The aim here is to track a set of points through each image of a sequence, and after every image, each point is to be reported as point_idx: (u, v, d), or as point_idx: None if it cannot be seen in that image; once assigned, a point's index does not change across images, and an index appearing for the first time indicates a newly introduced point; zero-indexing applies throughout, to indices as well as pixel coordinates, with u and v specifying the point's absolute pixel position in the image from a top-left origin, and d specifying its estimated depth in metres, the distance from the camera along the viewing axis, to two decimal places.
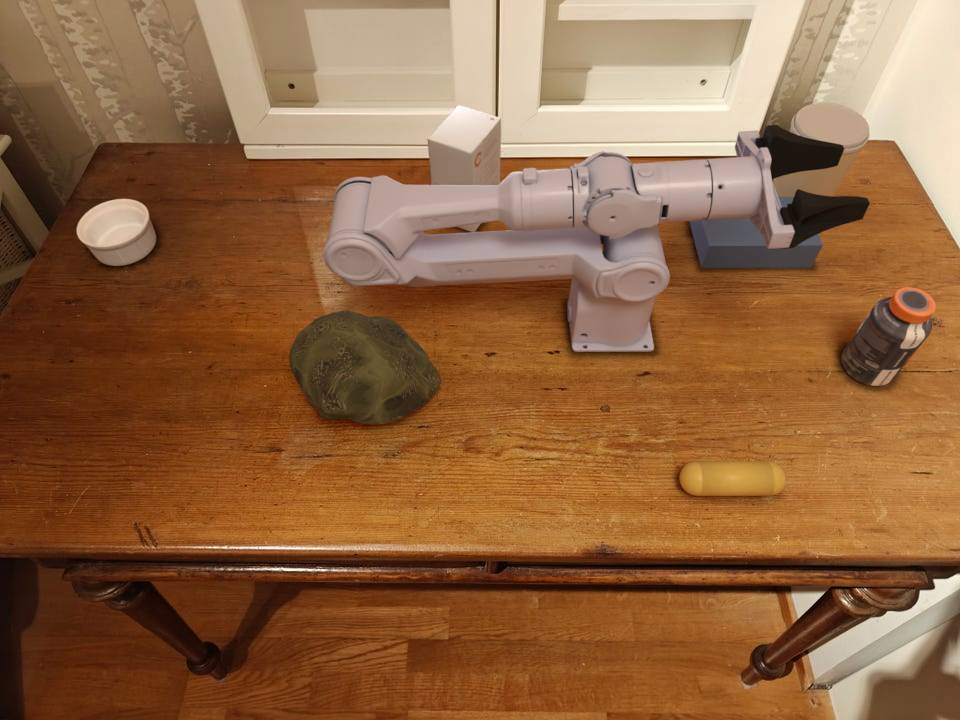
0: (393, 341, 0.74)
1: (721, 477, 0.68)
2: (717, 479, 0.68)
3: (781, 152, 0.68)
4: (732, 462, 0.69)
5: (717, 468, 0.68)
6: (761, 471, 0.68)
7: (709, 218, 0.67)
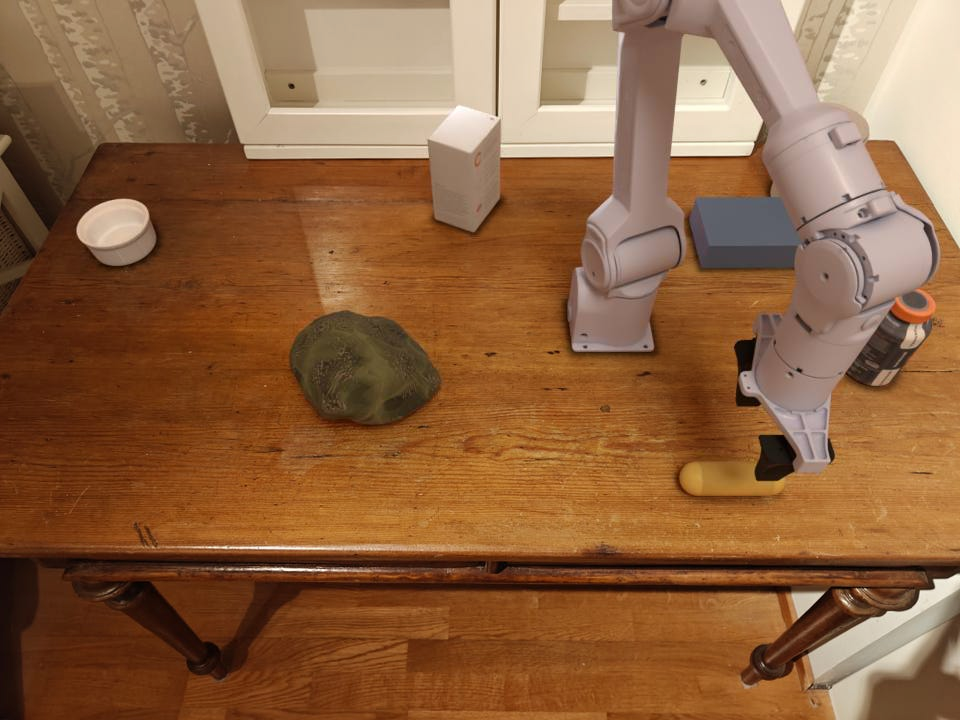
0: (393, 341, 0.74)
1: (721, 477, 0.68)
2: (717, 479, 0.68)
3: None
4: (732, 462, 0.69)
5: (717, 468, 0.68)
6: None
7: None
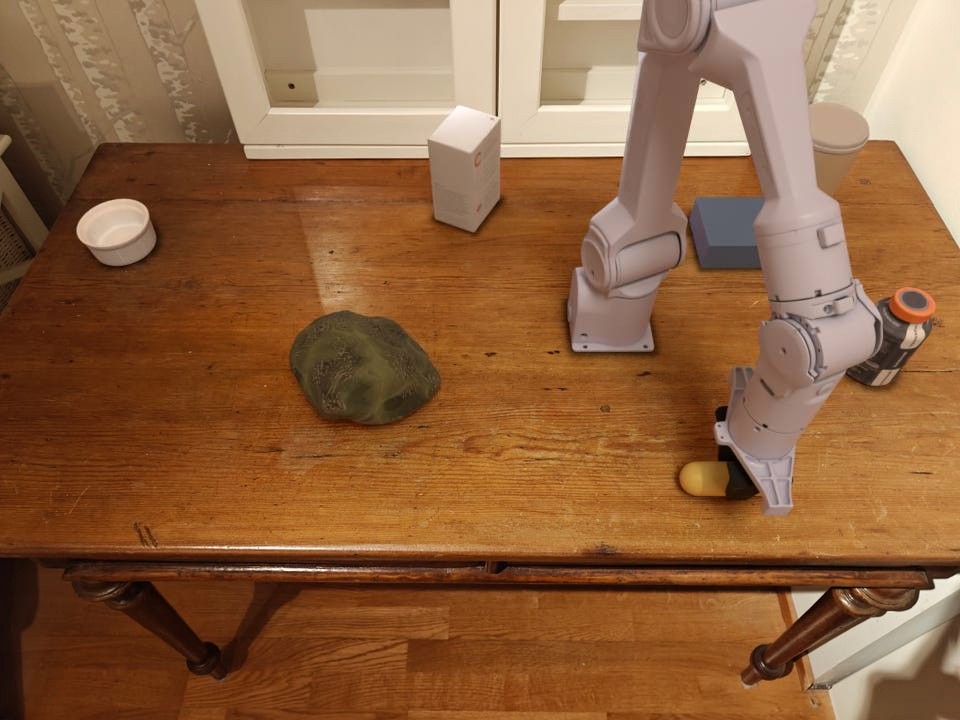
0: (393, 341, 0.74)
1: (721, 477, 0.68)
2: (717, 479, 0.68)
3: None
4: None
5: (717, 468, 0.68)
6: None
7: None
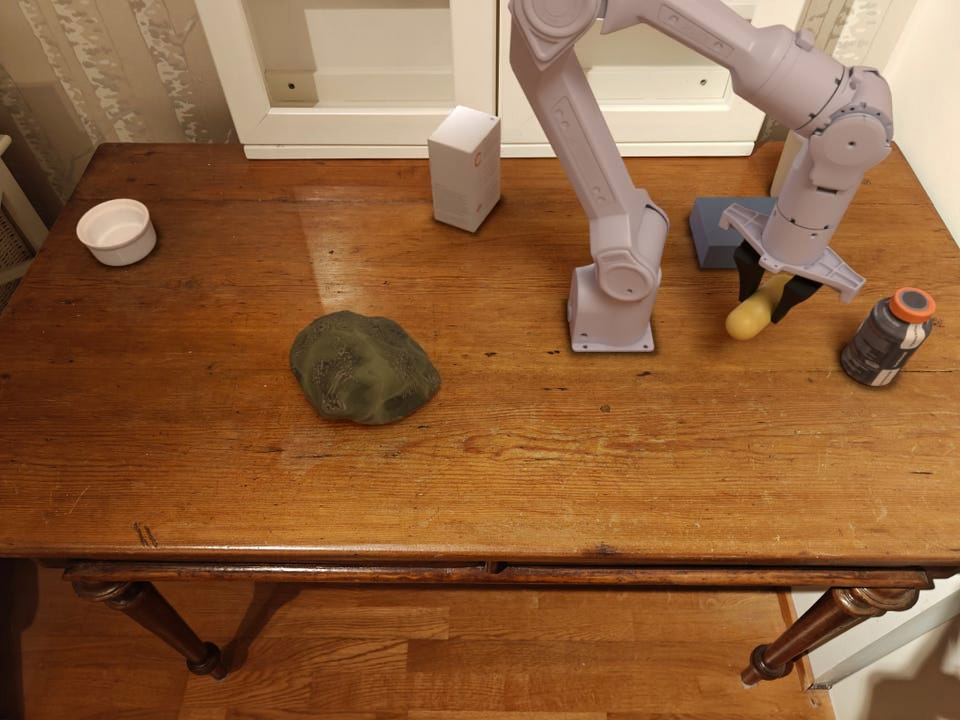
0: (393, 341, 0.74)
1: (763, 308, 0.72)
2: (762, 312, 0.72)
3: None
4: (756, 293, 0.74)
5: (755, 303, 0.72)
6: (781, 285, 0.74)
7: None
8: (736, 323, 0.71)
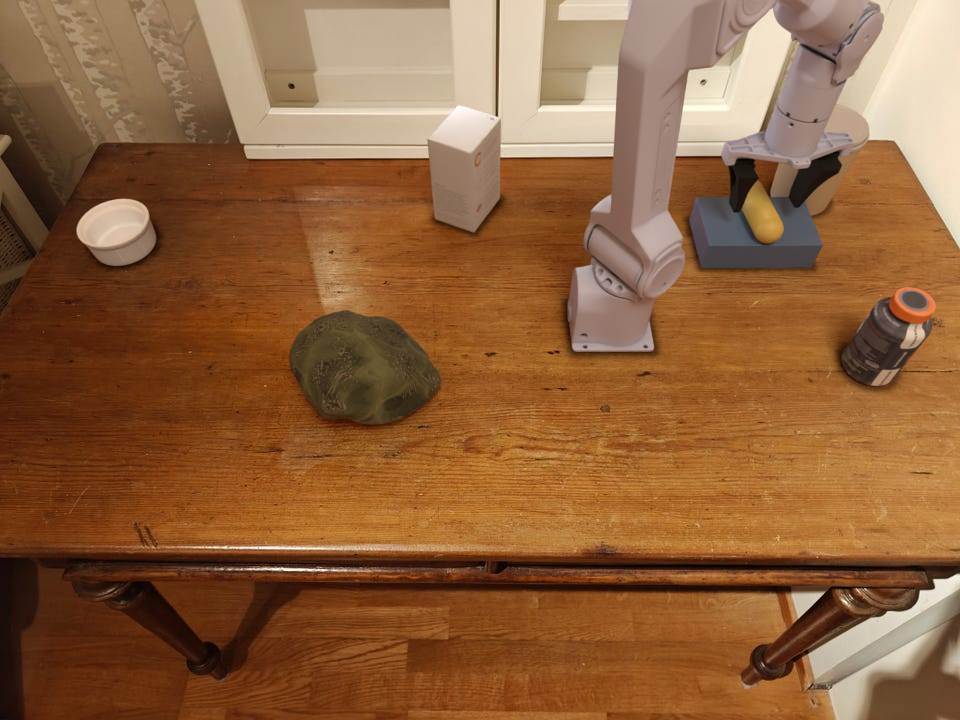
0: (393, 341, 0.74)
1: (769, 208, 0.85)
2: (772, 210, 0.85)
3: (813, 168, 0.81)
4: (750, 205, 0.86)
5: (762, 211, 0.85)
6: (753, 187, 0.87)
7: None
8: (771, 231, 0.84)
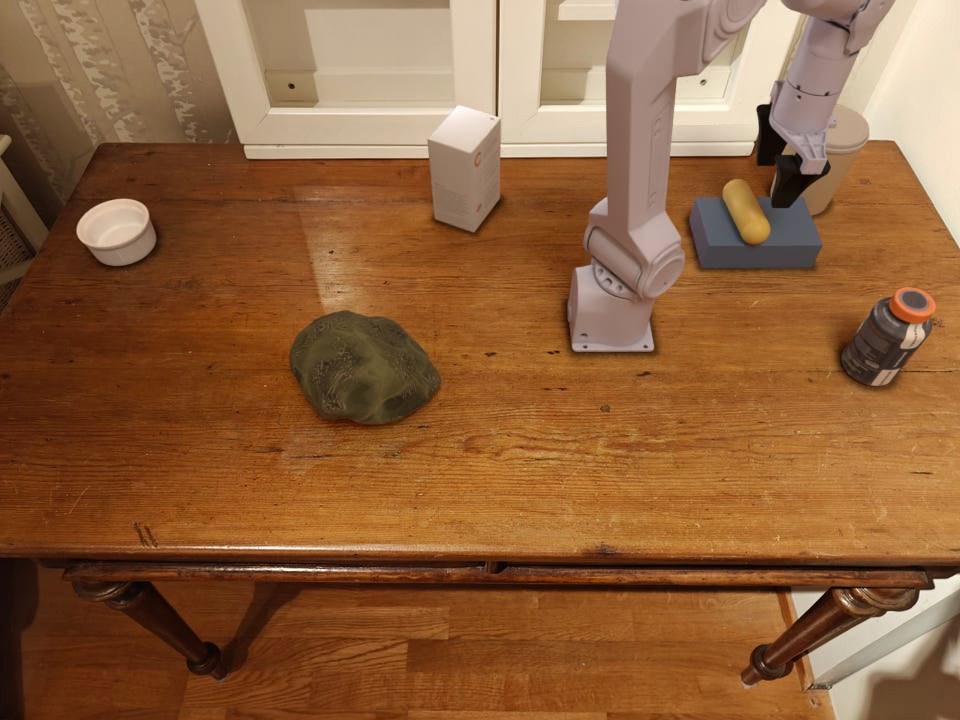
0: (393, 341, 0.74)
1: (743, 213, 0.85)
2: (745, 215, 0.85)
3: None
4: (732, 216, 0.87)
5: (738, 220, 0.86)
6: (729, 195, 0.88)
7: (807, 96, 0.72)
8: (751, 237, 0.84)
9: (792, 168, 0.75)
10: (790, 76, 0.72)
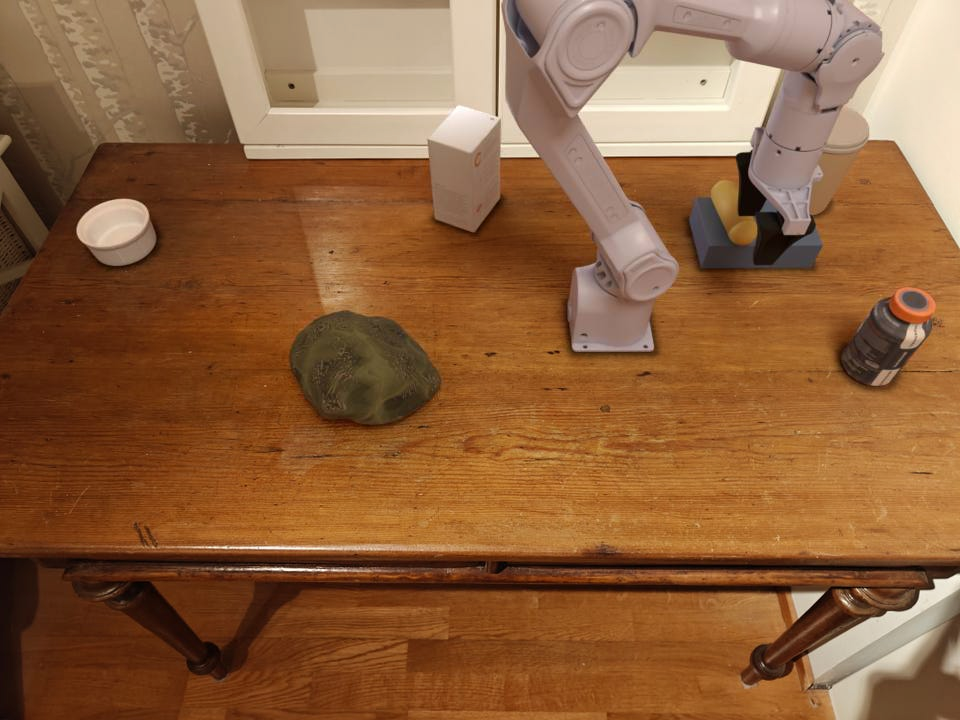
0: (393, 341, 0.74)
1: (724, 223, 0.86)
2: (725, 225, 0.86)
3: None
4: None
5: (726, 230, 0.87)
6: (714, 205, 0.89)
7: (788, 151, 0.65)
8: (739, 243, 0.85)
9: (773, 227, 0.68)
10: (767, 123, 0.67)
